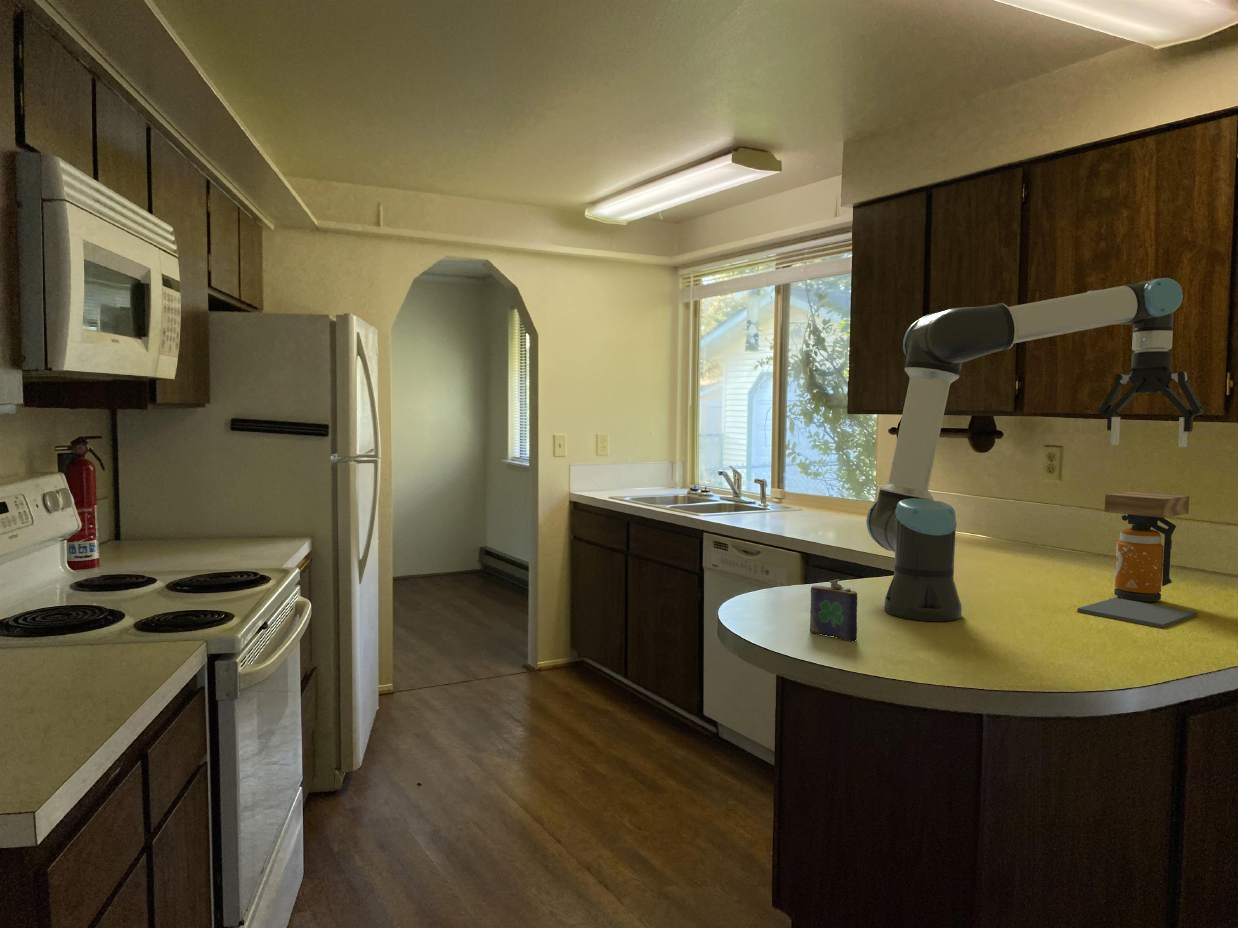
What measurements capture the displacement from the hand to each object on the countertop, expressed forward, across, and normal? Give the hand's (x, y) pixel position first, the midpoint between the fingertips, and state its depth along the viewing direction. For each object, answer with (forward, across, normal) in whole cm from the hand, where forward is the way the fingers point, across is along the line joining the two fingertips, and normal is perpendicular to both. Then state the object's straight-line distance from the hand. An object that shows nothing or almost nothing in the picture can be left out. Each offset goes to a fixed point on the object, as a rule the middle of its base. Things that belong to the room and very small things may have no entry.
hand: (1147, 446), depth 182 cm
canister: (+35, 0, 0) cm, 35 cm away
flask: (+35, +20, +84) cm, 93 cm away
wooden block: (+15, 0, 0) cm, 15 cm away
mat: (+35, -5, +16) cm, 39 cm away
